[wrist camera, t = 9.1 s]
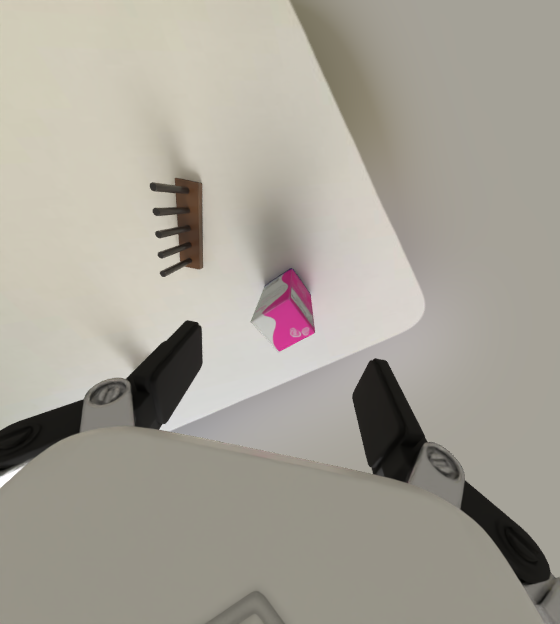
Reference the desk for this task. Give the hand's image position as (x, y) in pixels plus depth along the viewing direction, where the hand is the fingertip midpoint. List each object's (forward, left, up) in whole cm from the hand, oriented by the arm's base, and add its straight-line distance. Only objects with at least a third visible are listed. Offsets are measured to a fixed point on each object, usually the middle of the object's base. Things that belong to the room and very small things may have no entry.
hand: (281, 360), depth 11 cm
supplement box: (+5, 0, -23) cm, 24 cm away
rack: (-2, -16, -23) cm, 28 cm away
